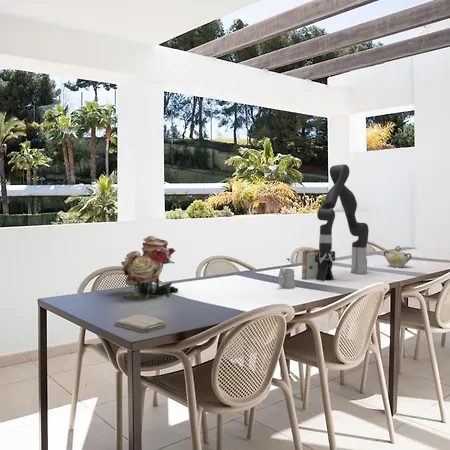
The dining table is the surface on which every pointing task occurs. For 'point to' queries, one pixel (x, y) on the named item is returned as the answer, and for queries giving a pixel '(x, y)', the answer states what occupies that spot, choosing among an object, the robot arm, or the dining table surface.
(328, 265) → the phone stand
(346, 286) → the dining table surface
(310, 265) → the door
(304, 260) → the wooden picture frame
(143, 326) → the washcloth
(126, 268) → the rose bouquet
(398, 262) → the sugar bowl
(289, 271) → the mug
